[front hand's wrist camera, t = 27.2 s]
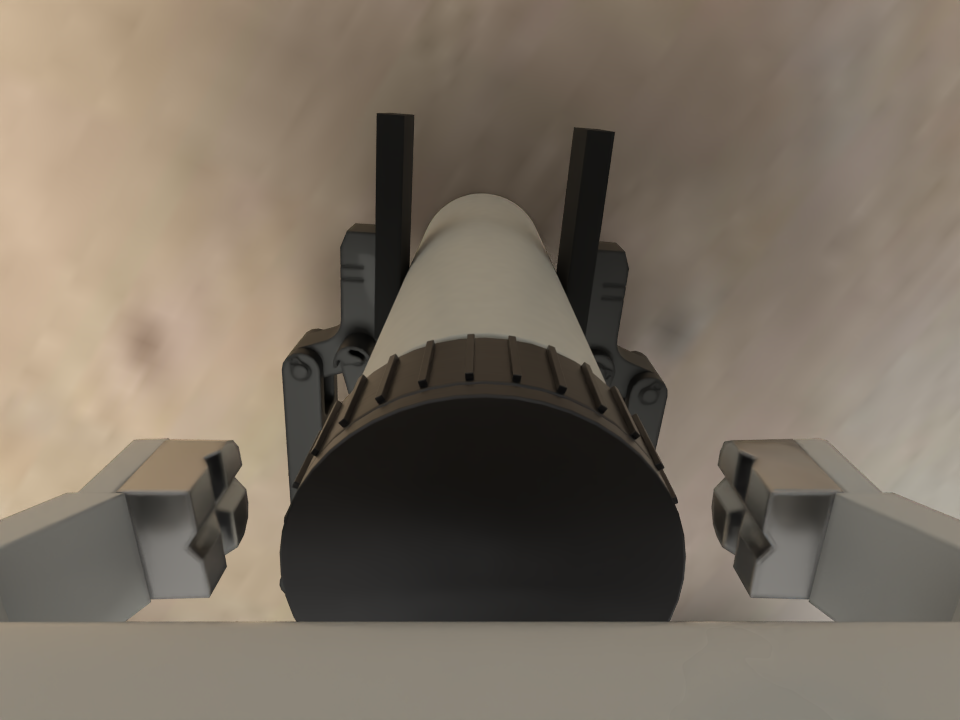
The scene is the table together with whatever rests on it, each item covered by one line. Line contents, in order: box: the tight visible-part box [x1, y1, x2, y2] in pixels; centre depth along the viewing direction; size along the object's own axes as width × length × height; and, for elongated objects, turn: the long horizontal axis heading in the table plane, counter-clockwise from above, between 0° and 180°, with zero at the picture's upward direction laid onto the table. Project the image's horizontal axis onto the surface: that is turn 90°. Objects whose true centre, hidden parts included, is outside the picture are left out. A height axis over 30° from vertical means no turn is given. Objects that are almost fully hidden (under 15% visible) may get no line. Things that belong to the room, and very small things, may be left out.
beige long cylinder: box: [363, 193, 606, 384], centre depth 18 cm, size 5×5×19 cm
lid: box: [280, 334, 686, 622], centre depth 9 cm, size 6×6×2 cm
